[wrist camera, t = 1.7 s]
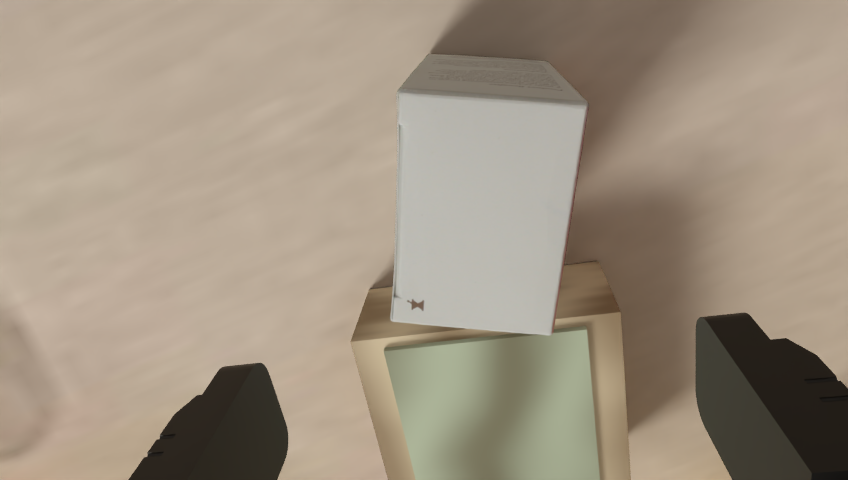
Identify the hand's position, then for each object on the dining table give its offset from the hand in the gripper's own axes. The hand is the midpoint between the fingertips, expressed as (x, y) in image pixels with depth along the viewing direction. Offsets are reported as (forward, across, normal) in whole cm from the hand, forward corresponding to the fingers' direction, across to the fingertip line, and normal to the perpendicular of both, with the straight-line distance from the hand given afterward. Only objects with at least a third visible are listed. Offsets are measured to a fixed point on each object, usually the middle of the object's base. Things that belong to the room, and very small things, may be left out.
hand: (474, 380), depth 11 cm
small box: (+18, 0, 0) cm, 18 cm away
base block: (+18, +1, +13) cm, 22 cm away
